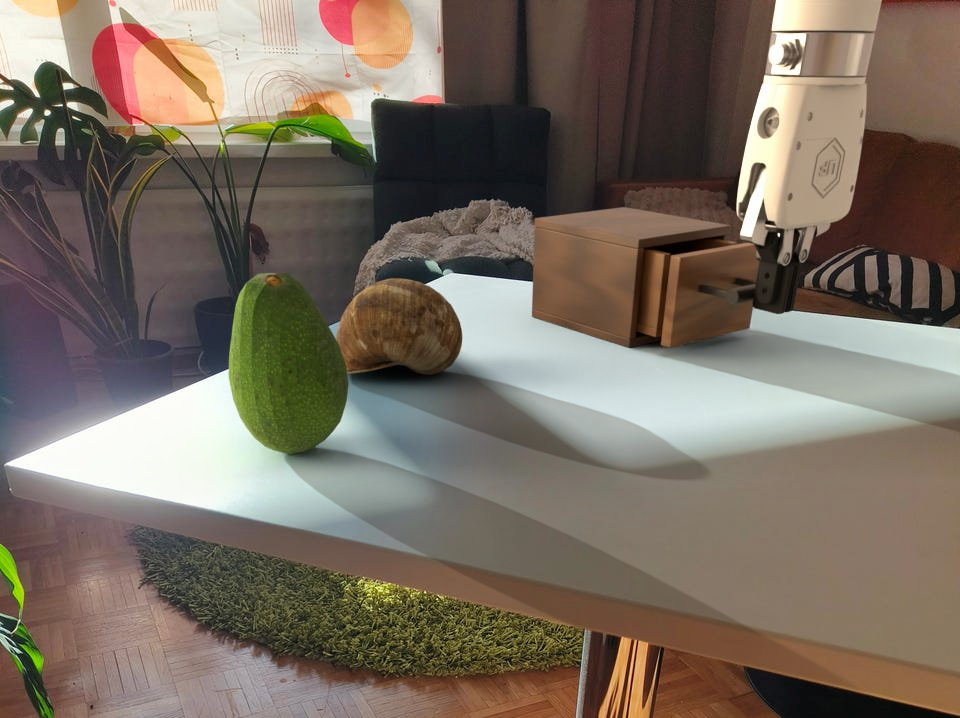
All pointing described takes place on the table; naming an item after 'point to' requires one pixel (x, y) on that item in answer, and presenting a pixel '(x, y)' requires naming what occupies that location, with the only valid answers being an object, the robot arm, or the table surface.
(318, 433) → the fruit
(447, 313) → the seashell
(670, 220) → the cabinet
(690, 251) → the drawer
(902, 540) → the table surface
